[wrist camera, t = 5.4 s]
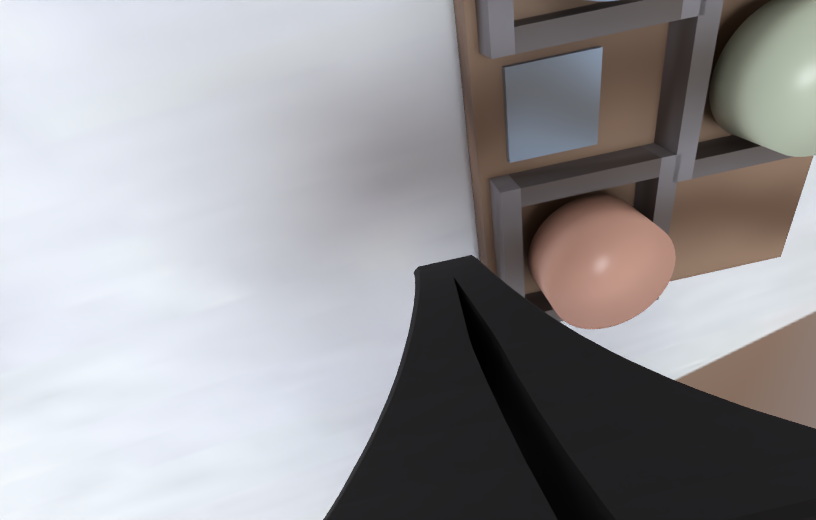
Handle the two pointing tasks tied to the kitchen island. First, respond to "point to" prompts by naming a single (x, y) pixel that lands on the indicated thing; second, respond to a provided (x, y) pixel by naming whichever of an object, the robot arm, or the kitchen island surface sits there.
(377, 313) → the kitchen island surface
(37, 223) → the kitchen island surface
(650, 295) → the button terracotta
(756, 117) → the button sage
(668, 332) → the kitchen island surface
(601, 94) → the panel
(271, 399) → the kitchen island surface
